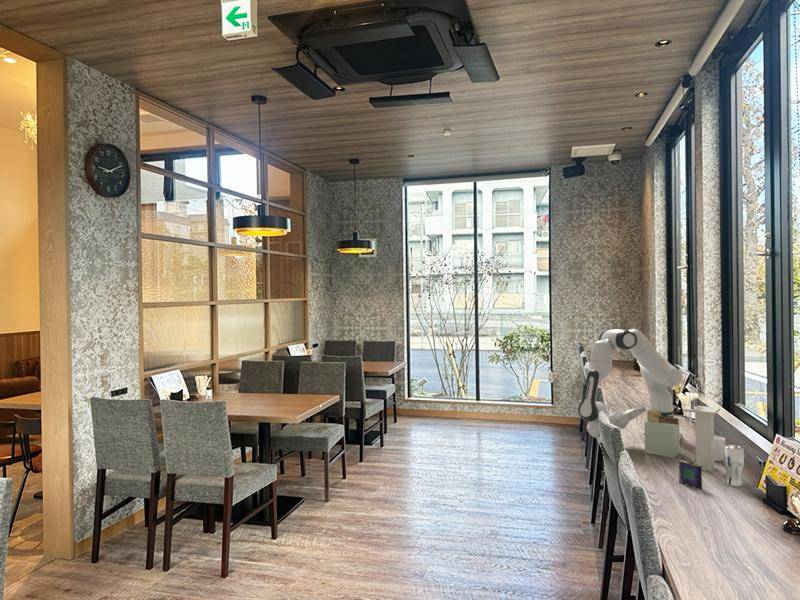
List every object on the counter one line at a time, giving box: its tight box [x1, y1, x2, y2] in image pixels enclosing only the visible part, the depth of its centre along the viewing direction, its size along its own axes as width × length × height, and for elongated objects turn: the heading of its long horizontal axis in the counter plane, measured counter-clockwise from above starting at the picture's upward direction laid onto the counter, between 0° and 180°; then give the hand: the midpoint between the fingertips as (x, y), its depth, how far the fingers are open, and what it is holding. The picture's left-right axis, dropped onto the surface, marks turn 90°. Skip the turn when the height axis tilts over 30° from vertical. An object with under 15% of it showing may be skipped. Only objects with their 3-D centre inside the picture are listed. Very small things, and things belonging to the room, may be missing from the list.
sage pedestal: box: [644, 420, 681, 459], centre depth 253 cm, size 10×13×15 cm
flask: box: [678, 458, 703, 490], centre depth 209 cm, size 9×3×11 cm, turn 26°
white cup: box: [714, 435, 726, 462], centre depth 243 cm, size 8×8×10 cm
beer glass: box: [723, 444, 745, 488], centre depth 209 cm, size 7×7×15 cm
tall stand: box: [683, 397, 721, 472], centre depth 231 cm, size 12×12×30 cm
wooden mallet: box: [646, 408, 680, 425], centre depth 253 cm, size 5×13×5 cm, turn 50°
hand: (642, 410), depth 259 cm, fingers open, 8 cm apart
